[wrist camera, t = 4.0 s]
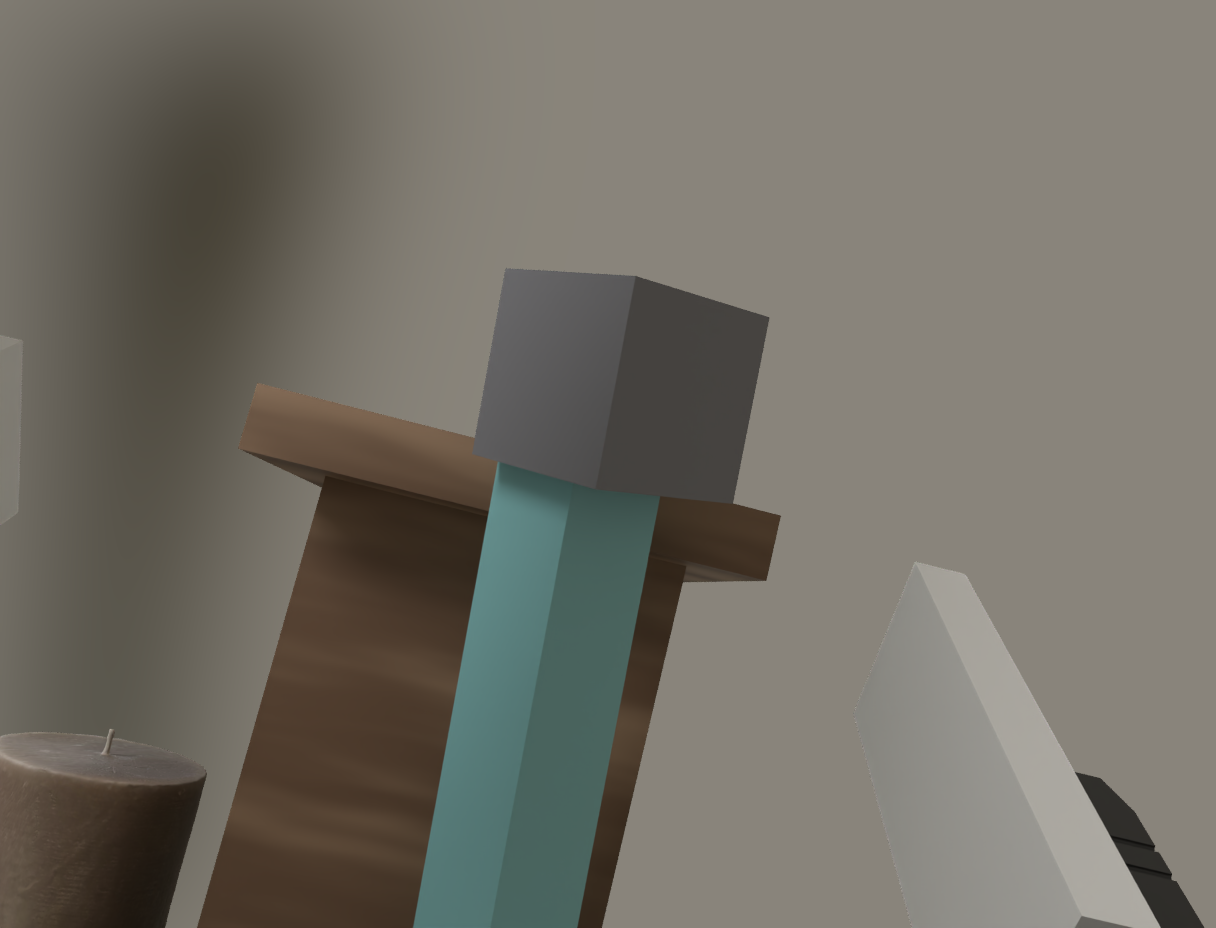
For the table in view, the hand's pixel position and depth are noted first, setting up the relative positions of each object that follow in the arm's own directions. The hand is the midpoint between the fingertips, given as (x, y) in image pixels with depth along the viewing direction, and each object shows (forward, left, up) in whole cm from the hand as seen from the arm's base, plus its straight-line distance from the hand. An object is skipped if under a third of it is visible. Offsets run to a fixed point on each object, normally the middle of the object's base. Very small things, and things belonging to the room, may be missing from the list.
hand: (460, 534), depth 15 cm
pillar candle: (+21, +34, -27) cm, 48 cm away
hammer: (+13, +8, -3) cm, 16 cm away
